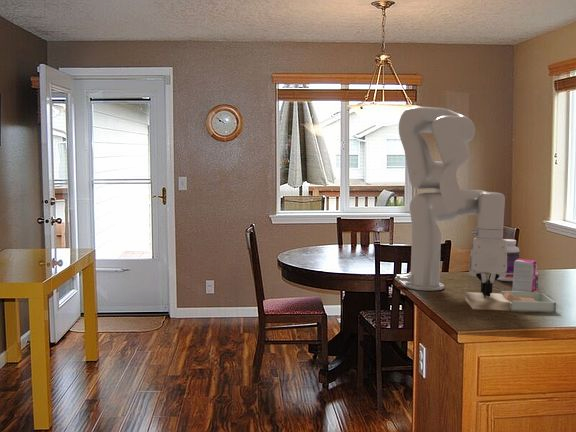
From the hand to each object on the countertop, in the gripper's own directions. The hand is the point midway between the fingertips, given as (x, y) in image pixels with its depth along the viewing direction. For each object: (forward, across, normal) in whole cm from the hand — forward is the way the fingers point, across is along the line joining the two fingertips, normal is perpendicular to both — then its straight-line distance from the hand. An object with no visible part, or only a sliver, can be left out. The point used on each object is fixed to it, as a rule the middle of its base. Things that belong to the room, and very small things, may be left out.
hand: (486, 295), depth 196 cm
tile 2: (0, +12, -1) cm, 12 cm away
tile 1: (+1, +7, 0) cm, 7 cm away
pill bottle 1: (+3, +16, +41) cm, 45 cm away
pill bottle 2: (+3, +19, +22) cm, 30 cm away
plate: (+3, 0, 0) cm, 3 cm away
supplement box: (+3, +15, +14) cm, 21 cm away
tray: (+3, +12, -1) cm, 12 cm away
